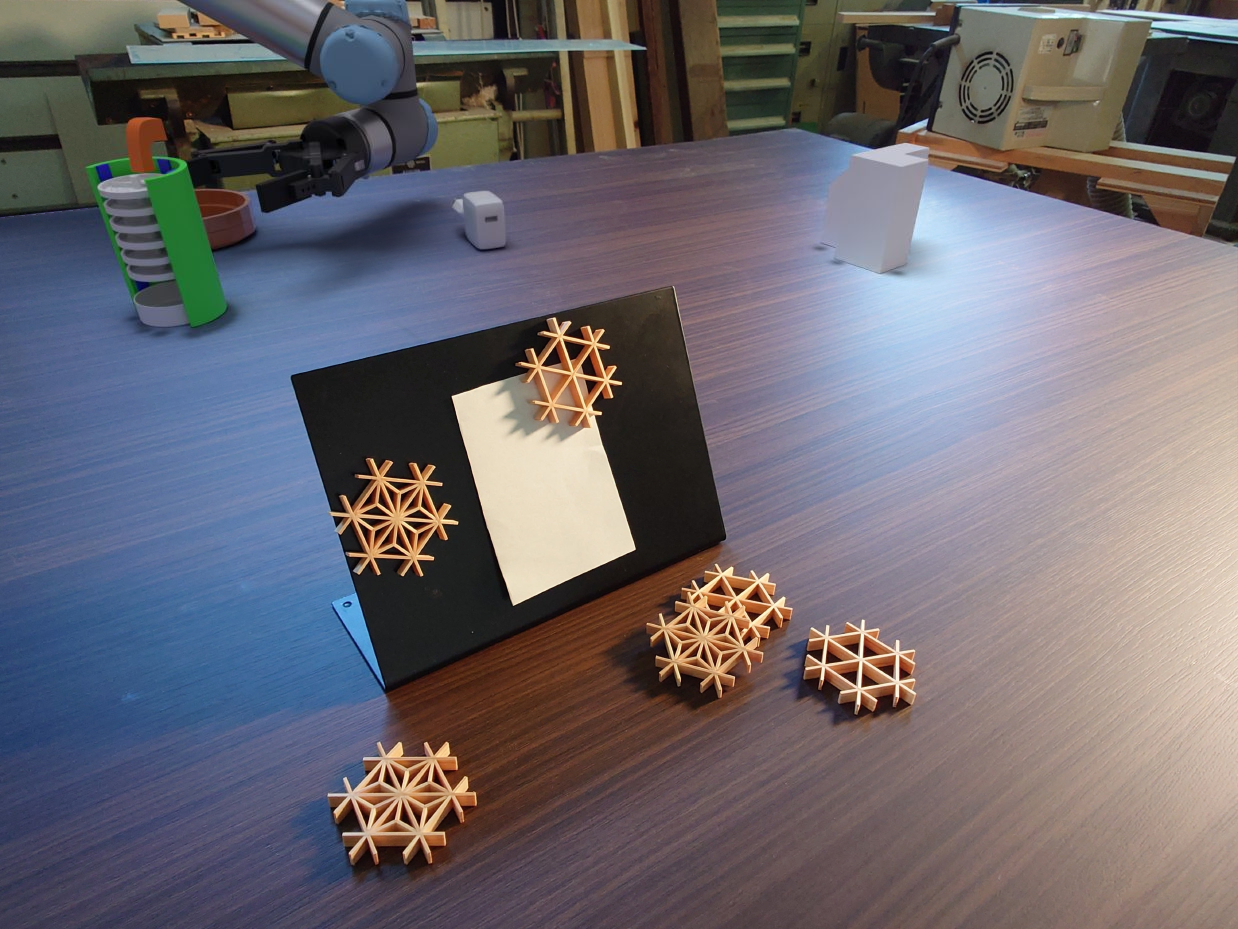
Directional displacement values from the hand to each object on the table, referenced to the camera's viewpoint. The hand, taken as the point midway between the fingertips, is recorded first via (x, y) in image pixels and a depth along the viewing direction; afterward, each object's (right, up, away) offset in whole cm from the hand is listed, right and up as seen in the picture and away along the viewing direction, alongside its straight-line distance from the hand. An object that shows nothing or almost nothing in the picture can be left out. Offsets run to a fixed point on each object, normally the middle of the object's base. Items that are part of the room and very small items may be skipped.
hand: (208, 190), depth 82 cm
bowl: (-11, +1, +20) cm, 23 cm away
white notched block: (+72, -1, +19) cm, 75 cm away
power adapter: (+24, +1, +21) cm, 32 cm away
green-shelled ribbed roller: (-3, -12, +1) cm, 13 cm away
